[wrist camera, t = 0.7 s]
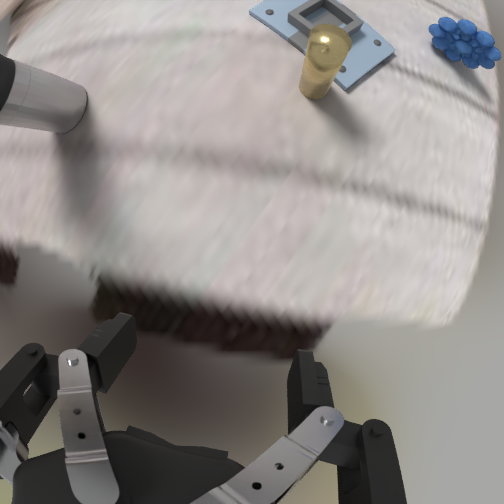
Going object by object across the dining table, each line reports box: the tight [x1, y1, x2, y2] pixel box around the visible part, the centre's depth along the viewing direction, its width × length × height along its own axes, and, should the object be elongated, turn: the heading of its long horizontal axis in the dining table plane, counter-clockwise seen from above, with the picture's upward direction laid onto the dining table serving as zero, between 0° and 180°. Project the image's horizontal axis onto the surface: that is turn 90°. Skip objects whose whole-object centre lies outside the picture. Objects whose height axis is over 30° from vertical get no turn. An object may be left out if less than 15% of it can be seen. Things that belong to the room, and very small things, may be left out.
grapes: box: [429, 17, 501, 69], centre depth 22 cm, size 12×7×12 cm, turn 63°
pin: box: [299, 24, 352, 100], centre depth 26 cm, size 4×4×14 cm
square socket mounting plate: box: [249, 0, 396, 91], centre depth 28 cm, size 19×12×4 cm, turn 44°
